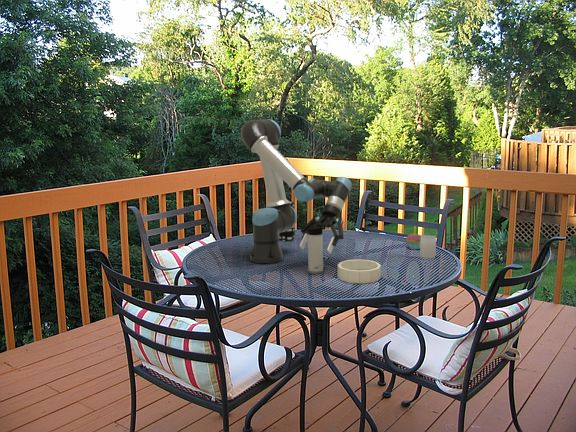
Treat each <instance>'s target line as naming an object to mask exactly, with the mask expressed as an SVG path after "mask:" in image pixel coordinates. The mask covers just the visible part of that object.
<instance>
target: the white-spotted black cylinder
mask: <svg viewBox="0 0 576 432" xmlns="http://www.w3.org/2000/svg"><path fill="white" fill-rule="evenodd" d="M290 204H291V207H293V209H295V202H294V201H290ZM295 225H296V224H295ZM295 225H294V227H293V228H291V229H290V230H288V231H284V232H281V233H279V234H278V240H279V241H280V242H294V241H295V240H296V235H295V234H296V232H295V231H296V230H295V229H296V227H295Z"/></svg>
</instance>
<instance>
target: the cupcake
mask: <svg viewBox="0 0 576 432" xmlns="http://www.w3.org/2000/svg"><path fill="white" fill-rule="evenodd" d="M416 229H417V227H416V226H414V228H413V230H414V231H413V233H411V234H409V235H407V236H406V237H405V241H406V242H407V243H408V247H409V249H411V250H420V240H421V235H422V234H418V233H416Z"/></svg>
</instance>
